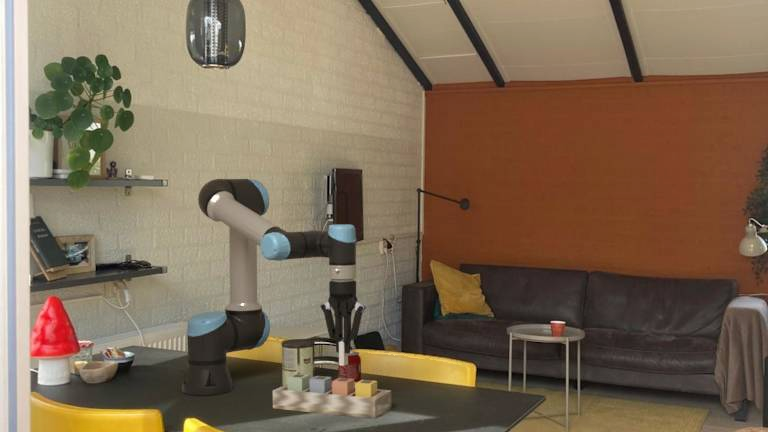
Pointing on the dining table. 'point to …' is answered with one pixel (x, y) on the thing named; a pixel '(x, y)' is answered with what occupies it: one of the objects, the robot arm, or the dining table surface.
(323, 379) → the slate key
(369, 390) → the mustard key
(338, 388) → the terracotta key
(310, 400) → the wooden tray
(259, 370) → the dining table surface
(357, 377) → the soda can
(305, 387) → the sage key
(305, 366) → the coffee can
